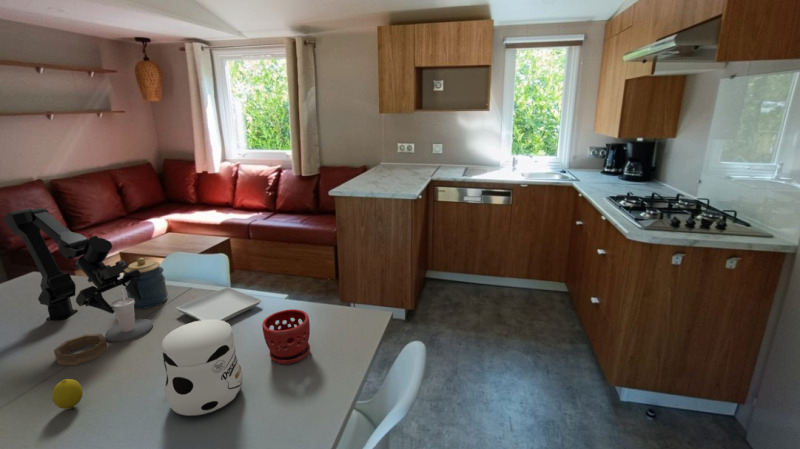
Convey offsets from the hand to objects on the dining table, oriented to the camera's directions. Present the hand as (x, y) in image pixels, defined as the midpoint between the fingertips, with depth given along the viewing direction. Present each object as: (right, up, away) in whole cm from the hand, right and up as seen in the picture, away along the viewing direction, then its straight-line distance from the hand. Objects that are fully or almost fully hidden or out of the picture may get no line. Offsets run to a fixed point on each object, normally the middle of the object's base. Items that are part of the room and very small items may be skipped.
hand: (127, 306), depth 129 cm
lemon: (+7, -19, -31) cm, 37 cm away
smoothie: (-1, -8, +3) cm, 9 cm away
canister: (-8, -3, +24) cm, 25 cm away
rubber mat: (-1, -9, +3) cm, 9 cm away
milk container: (+39, -18, -28) cm, 51 cm away
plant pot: (+55, -13, -10) cm, 57 cm away
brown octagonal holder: (-7, -12, -9) cm, 17 cm away
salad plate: (+23, -6, +16) cm, 29 cm away
